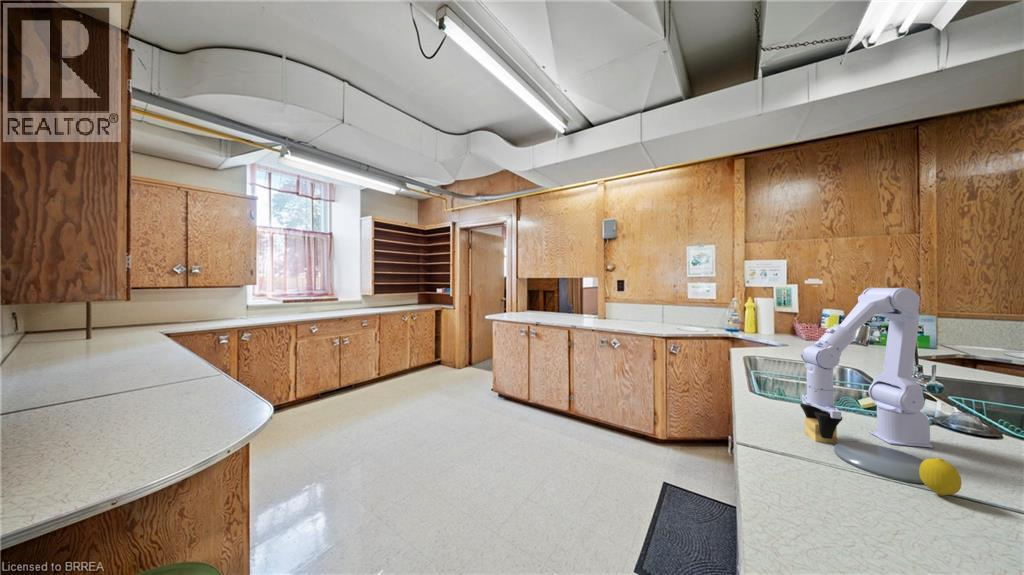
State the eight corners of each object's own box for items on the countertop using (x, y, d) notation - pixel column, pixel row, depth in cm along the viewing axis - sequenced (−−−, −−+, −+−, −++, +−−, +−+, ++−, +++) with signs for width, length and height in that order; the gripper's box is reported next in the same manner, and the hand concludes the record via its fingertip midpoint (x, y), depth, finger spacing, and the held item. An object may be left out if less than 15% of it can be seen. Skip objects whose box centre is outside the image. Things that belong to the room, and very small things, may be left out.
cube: (825, 435, 98) (825, 419, 98) (836, 443, 94) (836, 426, 94) (805, 433, 100) (805, 417, 100) (815, 441, 95) (815, 424, 95)
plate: (898, 449, 90) (898, 446, 90) (969, 489, 72) (969, 484, 72) (818, 442, 94) (818, 438, 94) (866, 478, 77) (866, 473, 77)
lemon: (971, 505, 67) (970, 466, 67) (937, 502, 68) (937, 463, 68) (941, 488, 73) (941, 452, 73) (911, 486, 74) (910, 450, 74)
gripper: (790, 379, 105) (790, 422, 105) (818, 394, 91) (819, 443, 91) (817, 381, 103) (817, 424, 103) (850, 396, 89) (851, 446, 89)
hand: (820, 433), depth 97 cm, fingers closed on cube, 5 cm apart
